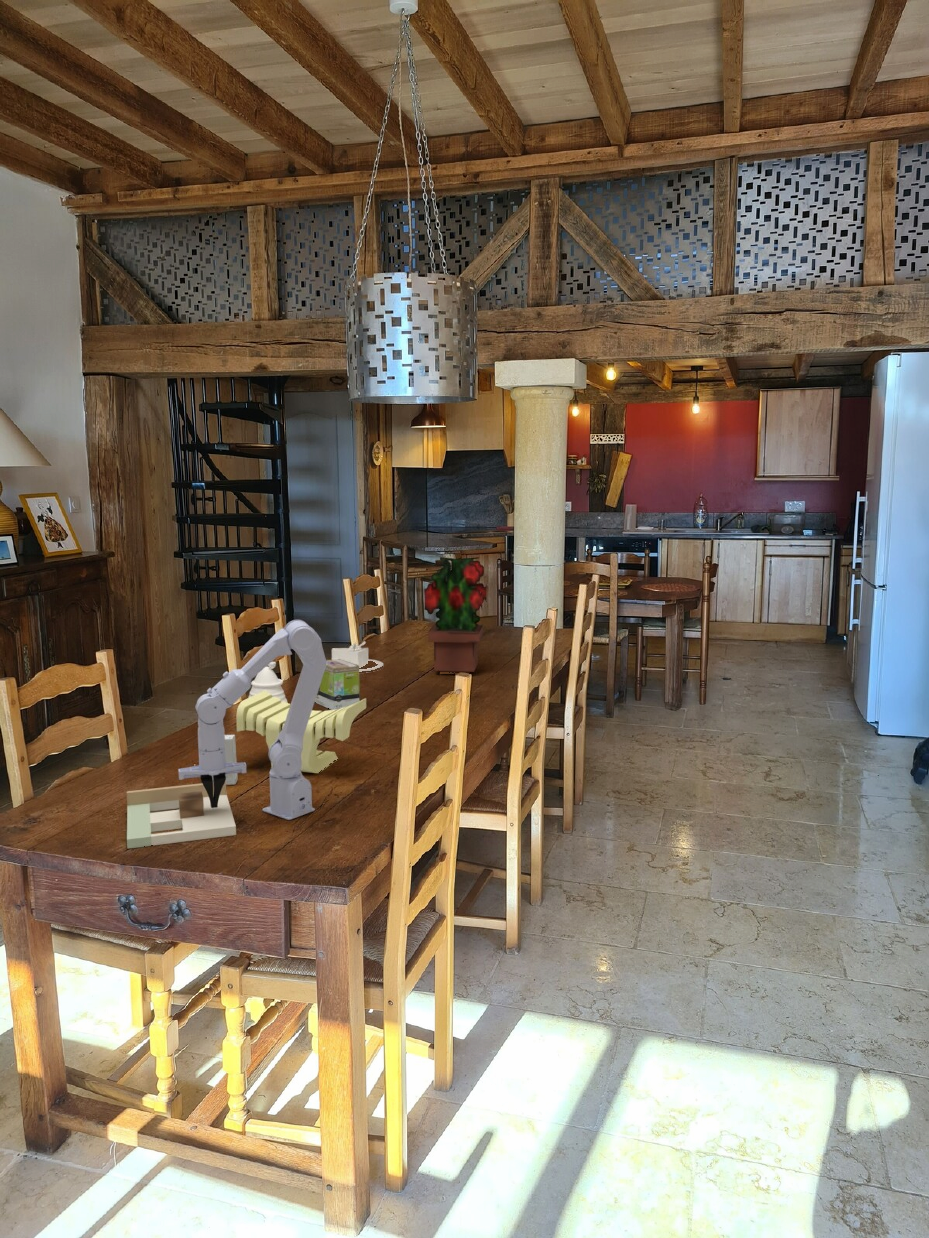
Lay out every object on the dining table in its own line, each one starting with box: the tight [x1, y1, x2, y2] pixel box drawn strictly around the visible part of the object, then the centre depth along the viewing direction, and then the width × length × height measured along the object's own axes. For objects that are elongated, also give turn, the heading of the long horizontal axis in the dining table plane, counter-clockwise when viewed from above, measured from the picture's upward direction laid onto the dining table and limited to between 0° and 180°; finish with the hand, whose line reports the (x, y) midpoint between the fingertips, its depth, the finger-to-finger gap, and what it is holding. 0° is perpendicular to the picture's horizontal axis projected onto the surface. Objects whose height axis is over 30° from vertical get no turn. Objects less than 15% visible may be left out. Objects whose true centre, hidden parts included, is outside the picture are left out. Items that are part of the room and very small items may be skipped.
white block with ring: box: [331, 640, 384, 672], centre depth 368 cm, size 25×25×11 cm
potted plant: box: [423, 556, 488, 674], centre depth 357 cm, size 22×22×45 cm
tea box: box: [314, 659, 361, 710], centre depth 306 cm, size 15×10×15 cm, turn 34°
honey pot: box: [248, 661, 288, 703], centre depth 290 cm, size 13×13×18 cm
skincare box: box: [212, 734, 239, 786], centre depth 228 cm, size 6×4×12 cm
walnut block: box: [178, 791, 204, 819], centre depth 202 cm, size 5×5×4 cm
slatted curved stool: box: [235, 690, 367, 774], centre depth 241 cm, size 30×16×18 cm, turn 74°
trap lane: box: [126, 781, 237, 850], centre depth 202 cm, size 22×22×5 cm
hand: (214, 806), depth 204 cm, fingers closed
